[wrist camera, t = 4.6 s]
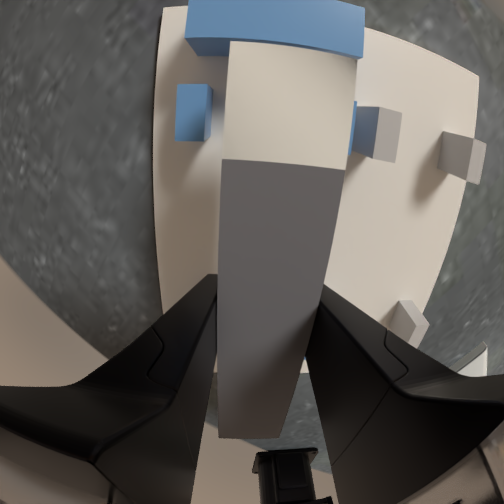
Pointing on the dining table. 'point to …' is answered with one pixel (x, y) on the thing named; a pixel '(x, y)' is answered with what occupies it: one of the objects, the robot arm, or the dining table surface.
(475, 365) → the hard drive
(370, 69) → the board
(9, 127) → the dining table surface
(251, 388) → the dark grey bar
